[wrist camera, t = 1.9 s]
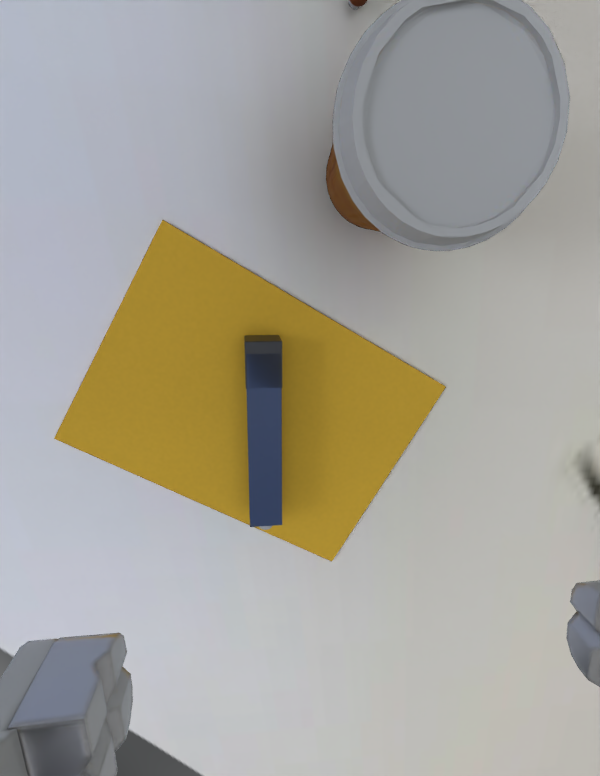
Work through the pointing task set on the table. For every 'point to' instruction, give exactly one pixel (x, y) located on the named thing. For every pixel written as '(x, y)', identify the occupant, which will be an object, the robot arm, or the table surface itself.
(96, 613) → the table surface
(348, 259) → the table surface
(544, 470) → the table surface
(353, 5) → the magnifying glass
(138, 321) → the cloth
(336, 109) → the disposable coffee cup
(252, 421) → the tall navy blue post
